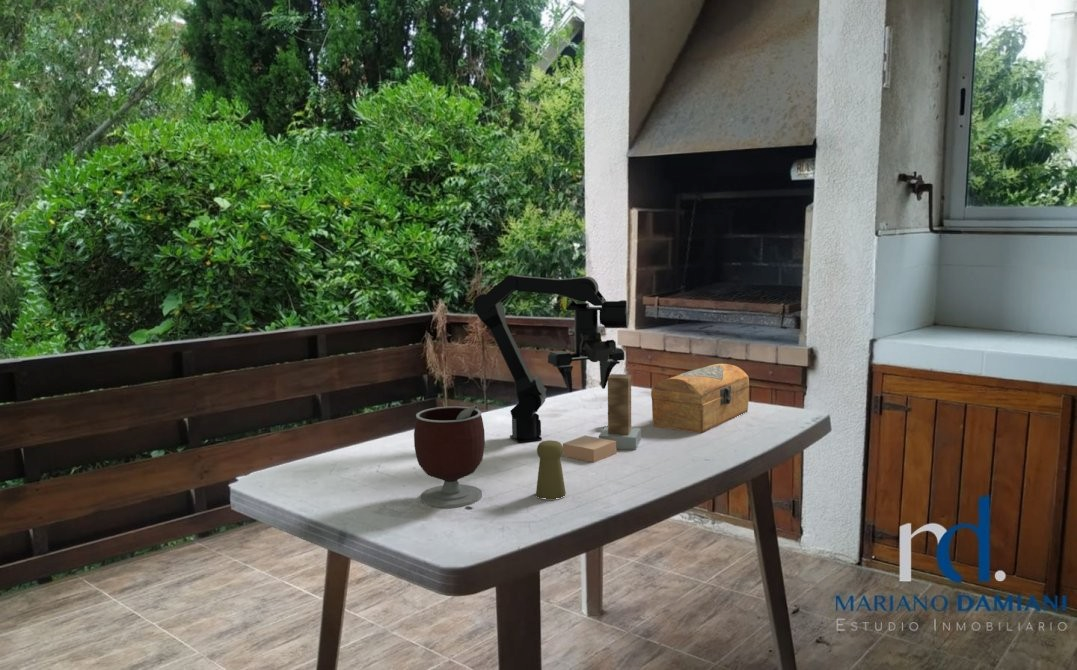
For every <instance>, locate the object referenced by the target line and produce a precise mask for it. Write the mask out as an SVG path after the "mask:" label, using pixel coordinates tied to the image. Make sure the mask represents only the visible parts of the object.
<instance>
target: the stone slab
mask: <svg viewBox="0 0 1077 670" xmlns="http://www.w3.org/2000/svg"><path fill="white" fill-rule="evenodd" d="M641 432H642V431H641V428H637V427H634V428H633V427H631V432H630V433H629V435H616V434H608V426H605V427H604V428H603V429H602V431H600V434H599V435H598V438H602V439H607V440H613V441H616V450H631V451H632V450H633V451H635V450H637V449H638V446H639V444H640V442H641V440H642V439H641Z"/></svg>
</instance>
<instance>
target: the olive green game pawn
mask: <svg viewBox="0 0 1077 670" xmlns="http://www.w3.org/2000/svg"><path fill="white" fill-rule="evenodd" d="M536 454H537V456H538V458H539V464H538V473H537V481H536V490H535V497H536V496H537V497H539V498H546V499H556V498H561V497H563V496H565V494H566V495H567V492H566V488H565V487H566V486H565V480H564V474H563V467H562V460H561V458H562V456H563V443H561V442H559V441H558V440H552V439H551V440H550V439H549V440H548V439H547V440H541V442H539V443H538V444H537V448H536ZM537 497H536V498H537ZM565 497H566V496H565ZM539 498H538V499H539ZM561 499H562V498H561Z"/></svg>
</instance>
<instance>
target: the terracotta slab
mask: <svg viewBox="0 0 1077 670" xmlns="http://www.w3.org/2000/svg"><path fill="white" fill-rule="evenodd" d="M562 446H563V454H562V456H563V457H566V458H572V459H575V458H576V459H577V460H579V461H580V460H581V461H586V462H589V463H590V462H591V463H596V462H599V461H601V460H603V459H607V458H608V457H612V456H614V455H615V454H617V449H616V441H613V440H607V439H602V438H599V437H595V436H591V435H590V436H589V435H583V436H579V437H577V438H574V439H571V440H568V441H566V442H563V443H562ZM576 459H575V460H576Z"/></svg>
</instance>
